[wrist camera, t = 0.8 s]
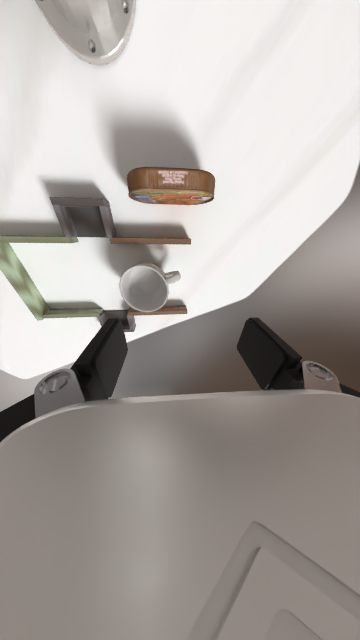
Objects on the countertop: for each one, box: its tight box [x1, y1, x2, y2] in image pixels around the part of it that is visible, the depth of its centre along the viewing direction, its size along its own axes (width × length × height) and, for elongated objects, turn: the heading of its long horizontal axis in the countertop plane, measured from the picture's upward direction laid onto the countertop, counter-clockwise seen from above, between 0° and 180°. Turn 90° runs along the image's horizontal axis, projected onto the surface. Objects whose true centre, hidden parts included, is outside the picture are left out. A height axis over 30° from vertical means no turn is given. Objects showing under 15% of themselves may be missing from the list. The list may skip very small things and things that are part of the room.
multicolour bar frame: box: [0, 197, 191, 332], centre depth 33 cm, size 31×40×4 cm
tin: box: [127, 167, 215, 205], centre depth 23 cm, size 15×3×8 cm, turn 89°
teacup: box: [120, 263, 181, 312], centre depth 32 cm, size 14×11×8 cm
